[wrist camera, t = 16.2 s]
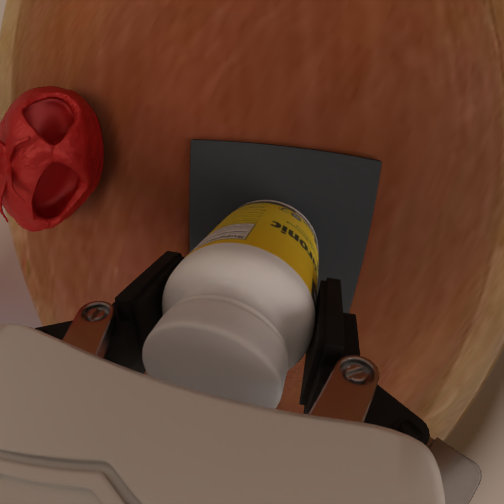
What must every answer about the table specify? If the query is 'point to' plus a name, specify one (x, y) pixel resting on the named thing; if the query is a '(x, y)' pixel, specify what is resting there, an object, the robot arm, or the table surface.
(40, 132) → the pomegranate
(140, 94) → the table surface
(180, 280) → the supplement bottle
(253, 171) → the rubber mat
